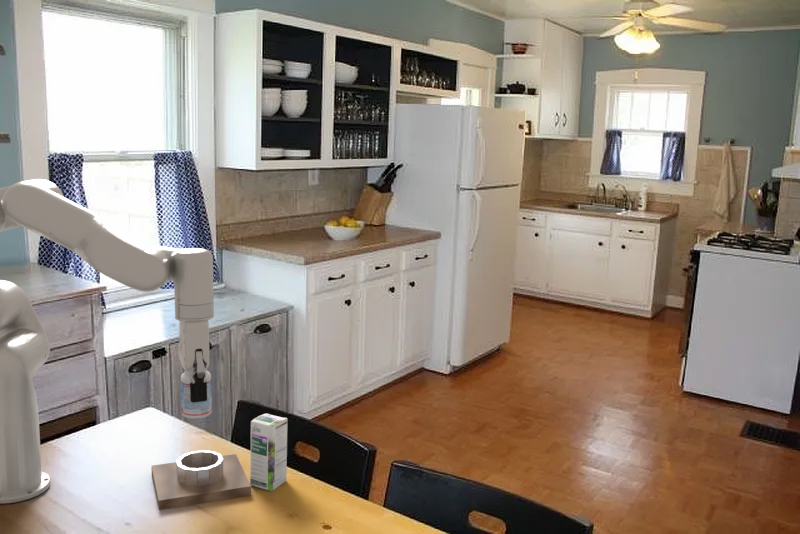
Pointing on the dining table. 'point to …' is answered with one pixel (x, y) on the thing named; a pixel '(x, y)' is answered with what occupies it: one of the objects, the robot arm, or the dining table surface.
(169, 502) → the holder board
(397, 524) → the dining table surface
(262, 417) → the syrup box
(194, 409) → the pill bottle
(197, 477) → the bottle ring
